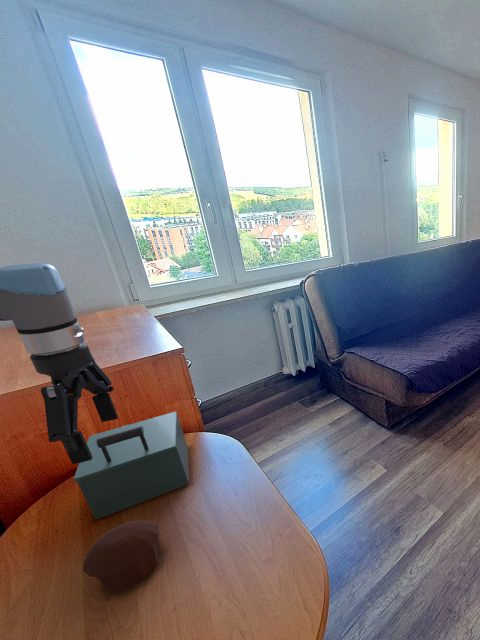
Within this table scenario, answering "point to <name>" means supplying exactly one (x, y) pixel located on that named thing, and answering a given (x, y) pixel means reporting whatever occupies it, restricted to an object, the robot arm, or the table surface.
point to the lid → (129, 445)
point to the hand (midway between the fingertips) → (97, 438)
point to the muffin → (124, 555)
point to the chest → (138, 480)
